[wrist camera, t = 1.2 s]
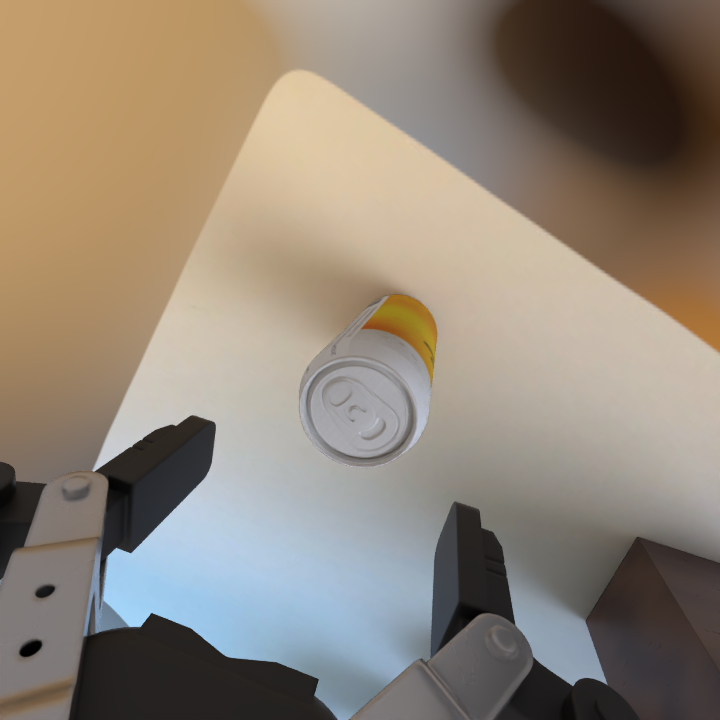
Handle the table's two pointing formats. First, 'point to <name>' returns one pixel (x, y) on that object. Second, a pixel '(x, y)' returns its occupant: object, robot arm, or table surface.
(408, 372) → the beer can
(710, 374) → the table surface
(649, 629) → the walnut stand
